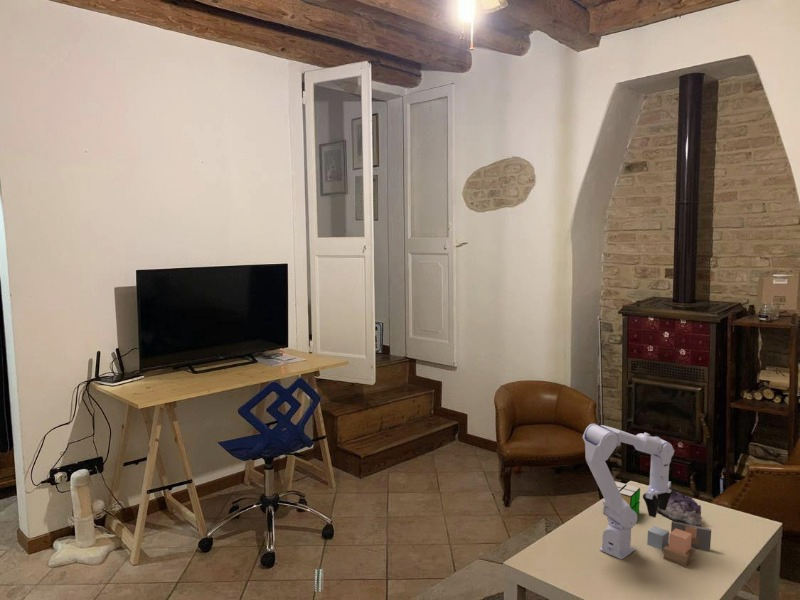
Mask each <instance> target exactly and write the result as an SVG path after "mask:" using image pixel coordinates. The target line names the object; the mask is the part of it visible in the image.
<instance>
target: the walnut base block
mask: <svg viewBox="0 0 800 600" xmlns="http://www.w3.org/2000/svg"><path fill="white" fill-rule="evenodd" d="M695 554H696V548H695V547H691V549H690V550H689V551H688V552H686V553H685V554H683V553H680V552H678V551H675V550H672V549H670V548H669V544H668V545H667V546H666V547H664V549H663V557H662V559H663V560H666V561H668V562H670V563H672V564H675V565H677V566H681V567H683V568H687V567H688V566H689V565H690V564H691V563H692V562H693V561H695V556H696V555H695Z"/></svg>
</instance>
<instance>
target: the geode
mask: <svg viewBox="0 0 800 600" xmlns="http://www.w3.org/2000/svg"><path fill="white" fill-rule="evenodd" d="M656 497H657V498H658V496H657V495H656ZM657 512H659V513H661V514H662V515H663V516H665V517H667V518H669V520H672V521H675V522H682V523H684V524H688V525H693V526H698V527H702V524H701V523H702V518H703V517H702V505H700V504H698V503H697V502H696V500H695V499H693V497H692V496H689V495H686V494H682V493H680V492H679V491H675V490H674V491H673V494H672V495H671V497H670V499H669V501H668V504H667V508H666V510H662V509H659V506H658V509H657Z"/></svg>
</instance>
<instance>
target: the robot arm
mask: <svg viewBox="0 0 800 600" xmlns="http://www.w3.org/2000/svg"><path fill="white" fill-rule="evenodd" d="M581 437H582V439H583V442H584V449H585V451H584V452H585V461H586V464H587V465H588V466H587V467H589V470H590V472H591V473H592V476H593V478H594V481H595V482H596V484H597V486H598V488H599V490H600V492H601V495H602V496H603V501H602V504H603V514H604V513H605V514H604V515H605V516H606V517H607V518H606V520H607V521H608V522H607V527H606V529H605V530H604V531H603V532H602V541H601V542H602V545H601V546H600V547H599V551H601V552H604V553H606V554H607V555H610V556H612V557H615V558H618V559H619V560H623V559H625V558H626V557H628V555H630V554H632V553H633V552H634V551H635V550H636V547H634V546H632V545H631V540H632V529H633V527H634V526H635V525H636V524H637V521H638V514H636V512H635V511H633V510H632V509H631V507H630V506H629V504H628V503H627V502H626V501H625V500H624V499H623V498H622V496H621V494H620V492H619V490H618V487H617V485H616V483H615V481H616V480H615V479H614V477H613V475H612V473H611V471H610V468H609V467H608V464H607V463H606V461H608V459H609V457H611V455H612V454H613V452H614V451H615V449H616V448H617V447H620V445H621V443H624V444H628V445H631V446H633V447H634V449H635V450H636V451H639V452H642V453H644V454H645V453H646V454H649V455H650V470H649V484H648V488H647V491H645V493H643V494H642V499H643V501H644V502H645V506H646V508H647V514H648V516H649V517H652V518H656V517H657V515H658V514H657V512H658V511H657V509H658V506H659V509H662V510H666V508H667V504H668V501H669V499H670V497H671V495H672V494H673V491H675V490H674V489H672V488H671V485H672V481H669V475H670V472H669V471H670V464H671V462H672V457H673V456H674V453H675V449H674V446H673V445H672V444H671V443H670V442H669V441H666V440H664V439H662V438H661V437H659V436H651V434H650V433H648V432H644V433H637V434H632V433H630V432H626V431H624V430H621V429H618V428H614V427H611V426H608V425H603V424H602V425H601V424H600V425H599V424H597V423H590V424H589V425H588V426H586V428H585V430H584V432H583V434H582V436H581ZM656 495H657V496H658V498H657V497H656Z"/></svg>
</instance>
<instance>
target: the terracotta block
mask: <svg viewBox="0 0 800 600" xmlns="http://www.w3.org/2000/svg"><path fill="white" fill-rule="evenodd" d="M691 537H692V534H691V533H688V532H685V531H682V530H680V529H677V528H675V529H674V530H673V531H672V532H671V531H670V532H669V548H670V549H672V550H675V551H678V552H680V553H683V554H685V553H686V552H688V551H689V550H690V549H691Z"/></svg>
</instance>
